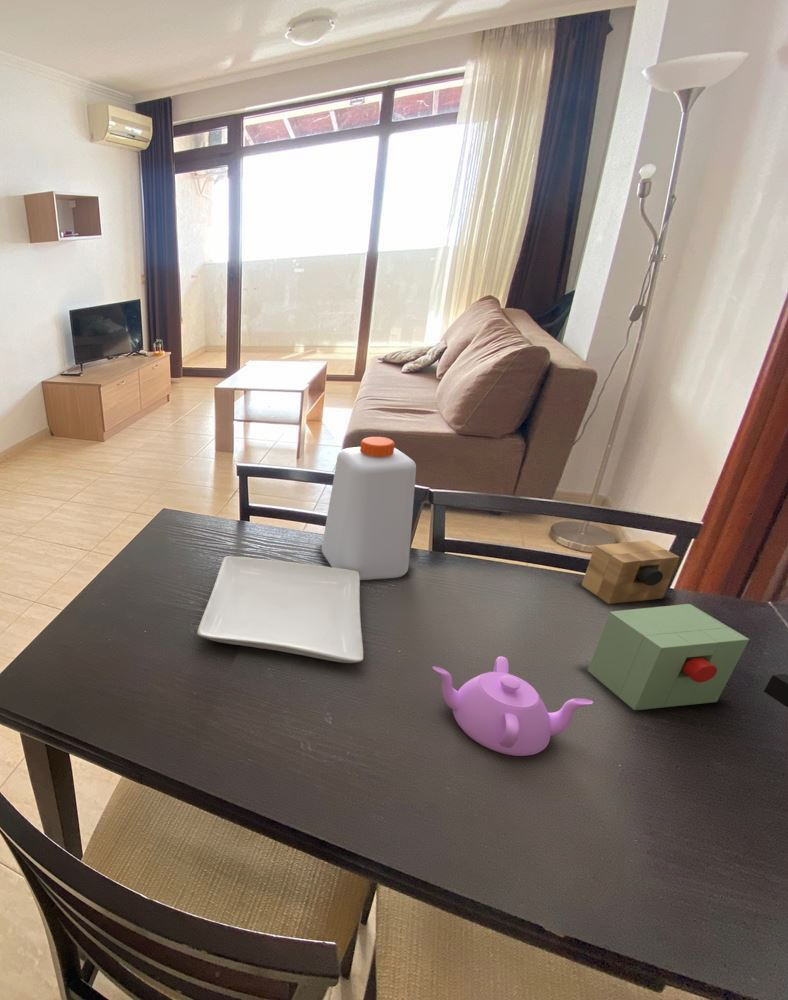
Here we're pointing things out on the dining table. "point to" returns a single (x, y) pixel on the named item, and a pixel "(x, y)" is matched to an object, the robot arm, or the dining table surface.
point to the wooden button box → (628, 571)
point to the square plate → (286, 608)
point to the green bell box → (664, 655)
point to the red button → (699, 670)
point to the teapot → (505, 711)
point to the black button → (650, 576)
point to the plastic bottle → (371, 510)
